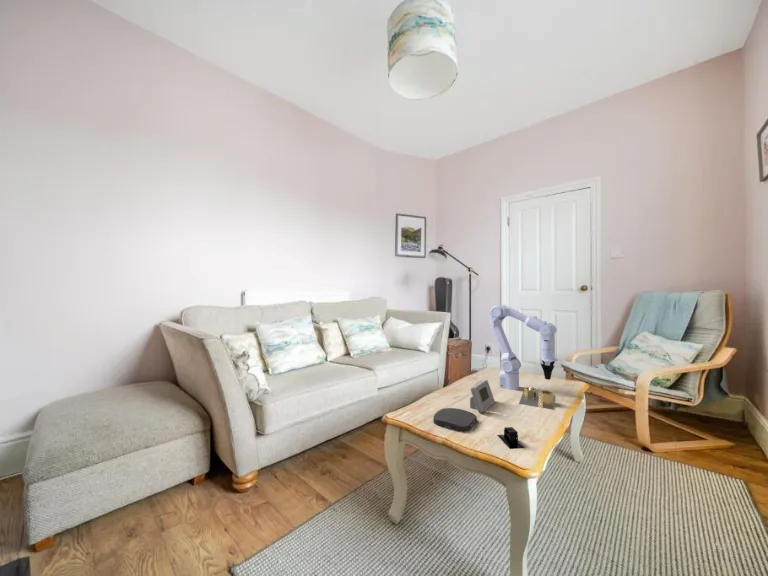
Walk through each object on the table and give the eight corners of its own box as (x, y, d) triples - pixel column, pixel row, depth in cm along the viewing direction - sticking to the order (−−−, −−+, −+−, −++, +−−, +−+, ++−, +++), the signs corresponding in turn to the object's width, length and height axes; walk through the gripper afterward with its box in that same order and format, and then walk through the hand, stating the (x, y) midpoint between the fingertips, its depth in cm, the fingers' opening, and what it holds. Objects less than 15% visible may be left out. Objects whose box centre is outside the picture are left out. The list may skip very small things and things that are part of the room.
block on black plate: (492, 434, 111) (493, 422, 111) (512, 433, 111) (512, 421, 111) (510, 452, 98) (510, 438, 98) (531, 452, 99) (531, 438, 99)
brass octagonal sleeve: (538, 404, 136) (538, 393, 136) (539, 400, 141) (539, 389, 141) (552, 406, 133) (552, 395, 133) (552, 402, 138) (553, 391, 138)
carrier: (519, 405, 137) (519, 396, 137) (523, 392, 154) (523, 384, 154) (554, 411, 130) (554, 402, 130) (555, 397, 147) (555, 389, 147)
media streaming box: (445, 411, 131) (445, 404, 131) (479, 420, 122) (479, 412, 122) (429, 424, 119) (430, 416, 119) (466, 434, 110) (466, 426, 110)
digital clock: (481, 415, 127) (481, 389, 127) (462, 408, 133) (462, 384, 134) (501, 405, 137) (501, 381, 137) (483, 399, 144) (483, 377, 144)
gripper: (557, 352, 138) (557, 382, 138) (557, 347, 151) (557, 374, 151) (540, 350, 142) (540, 380, 142) (541, 345, 154) (541, 372, 154)
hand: (548, 377), depth 146 cm, fingers open, 7 cm apart
